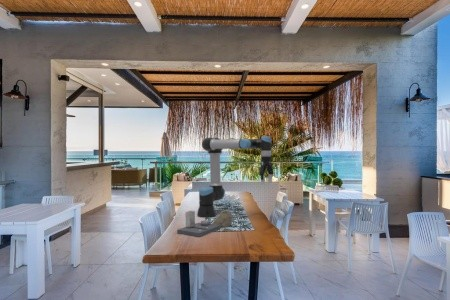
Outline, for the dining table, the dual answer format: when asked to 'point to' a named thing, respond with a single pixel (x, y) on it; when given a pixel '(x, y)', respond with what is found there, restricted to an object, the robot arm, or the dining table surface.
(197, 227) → the console
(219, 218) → the fossil tooth
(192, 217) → the fader
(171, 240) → the dining table surface
